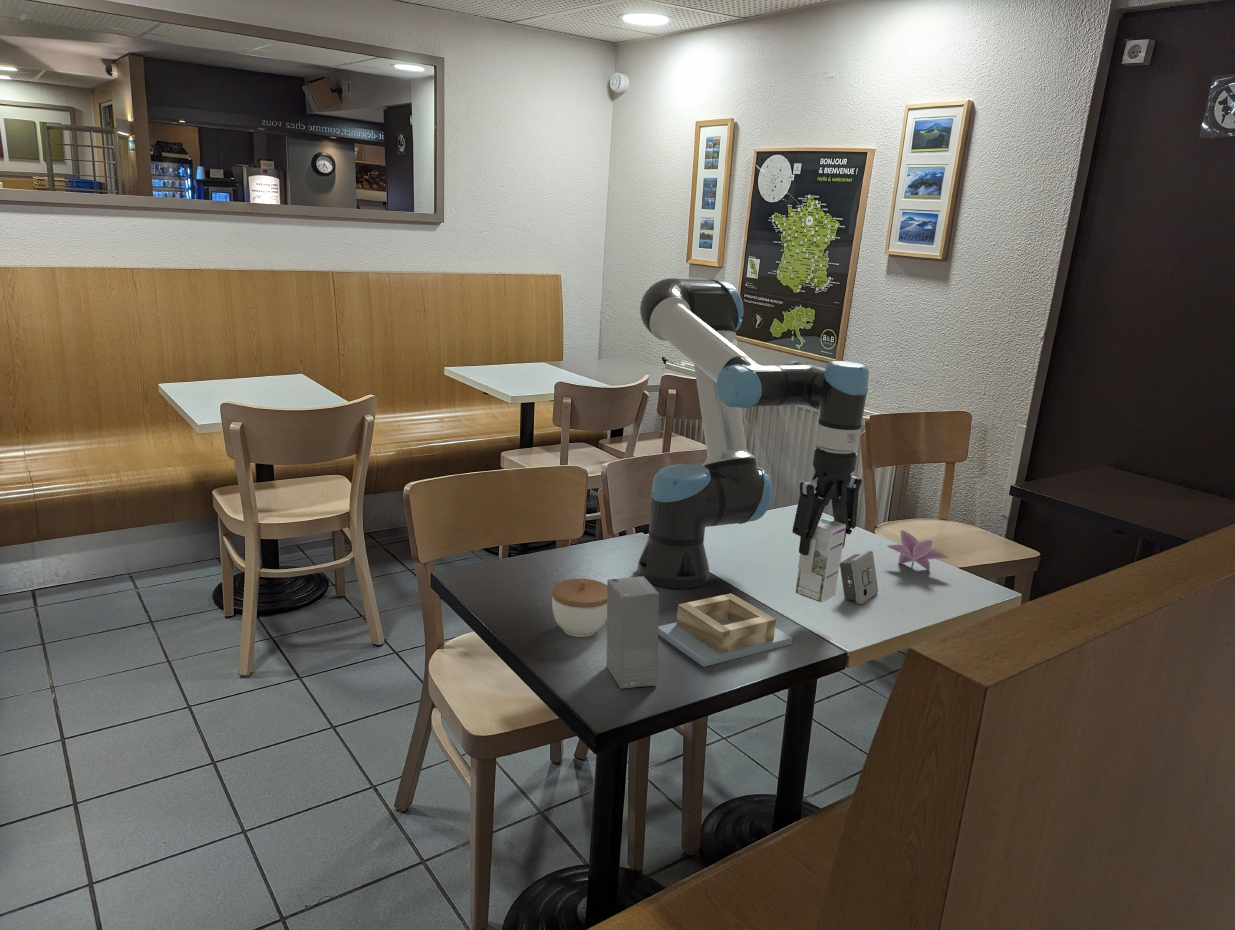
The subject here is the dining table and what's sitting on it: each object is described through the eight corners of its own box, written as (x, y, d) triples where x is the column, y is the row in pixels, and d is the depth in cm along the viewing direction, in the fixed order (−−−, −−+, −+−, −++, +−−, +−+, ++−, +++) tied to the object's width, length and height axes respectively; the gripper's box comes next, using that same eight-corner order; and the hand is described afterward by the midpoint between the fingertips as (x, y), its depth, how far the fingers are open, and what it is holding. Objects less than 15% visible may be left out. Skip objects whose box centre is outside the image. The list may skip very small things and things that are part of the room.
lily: (951, 585, 190) (955, 543, 192) (921, 573, 183) (926, 529, 186) (903, 583, 199) (908, 543, 202) (873, 571, 193) (878, 530, 195)
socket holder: (703, 666, 144) (706, 638, 142) (656, 632, 155) (658, 606, 154) (791, 643, 154) (795, 617, 153) (741, 613, 165) (744, 588, 164)
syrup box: (836, 595, 162) (847, 523, 159) (820, 603, 158) (832, 529, 154) (809, 586, 166) (820, 515, 162) (793, 593, 162) (804, 520, 158)
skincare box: (658, 686, 136) (665, 594, 132) (615, 691, 134) (621, 597, 130) (641, 661, 144) (648, 573, 140) (600, 665, 142) (606, 576, 138)
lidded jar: (553, 615, 160) (555, 567, 157) (610, 619, 159) (614, 572, 157) (547, 641, 149) (549, 591, 147) (608, 645, 149) (611, 595, 147)
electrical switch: (860, 606, 173) (862, 562, 171) (836, 601, 176) (838, 557, 174) (878, 594, 180) (880, 551, 178) (855, 589, 183) (857, 547, 181)
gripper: (811, 458, 146) (794, 583, 152) (889, 449, 157) (870, 566, 163) (781, 447, 152) (766, 567, 158) (858, 439, 163) (841, 553, 169)
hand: (819, 567), depth 161 cm, fingers closed on syrup box, 7 cm apart
